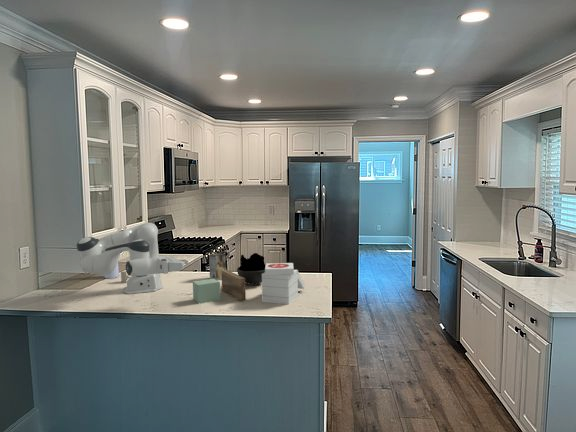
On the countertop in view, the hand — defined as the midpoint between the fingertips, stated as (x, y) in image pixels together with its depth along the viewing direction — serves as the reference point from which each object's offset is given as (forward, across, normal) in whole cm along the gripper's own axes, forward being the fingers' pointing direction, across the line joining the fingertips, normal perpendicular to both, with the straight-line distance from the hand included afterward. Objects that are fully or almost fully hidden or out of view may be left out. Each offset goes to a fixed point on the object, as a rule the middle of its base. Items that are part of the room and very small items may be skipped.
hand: (187, 261), depth 228 cm
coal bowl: (+46, -16, -22) cm, 54 cm away
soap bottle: (-25, -87, -22) cm, 93 cm away
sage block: (+10, 0, -22) cm, 24 cm away
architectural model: (-20, -67, -23) cm, 73 cm away
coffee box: (+33, -42, -22) cm, 58 cm away
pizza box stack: (+48, +17, -22) cm, 56 cm away
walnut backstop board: (+26, 0, -22) cm, 34 cm away
